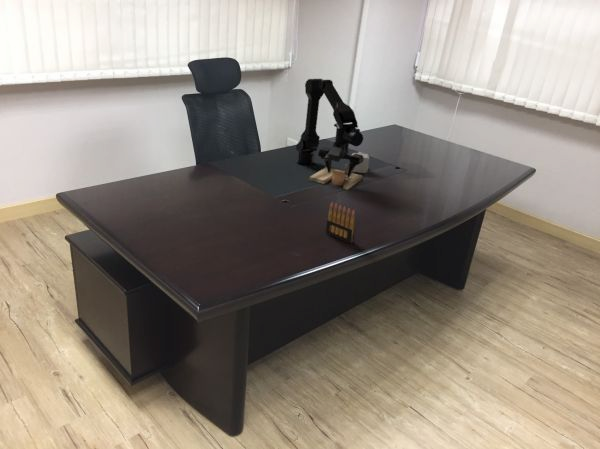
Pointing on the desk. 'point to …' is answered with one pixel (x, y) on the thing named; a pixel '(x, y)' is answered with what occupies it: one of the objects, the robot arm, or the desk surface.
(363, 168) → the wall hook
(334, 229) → the ammunition clip
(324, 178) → the pale wood u-shaped block
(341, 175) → the tan rounded cone
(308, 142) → the robot arm
